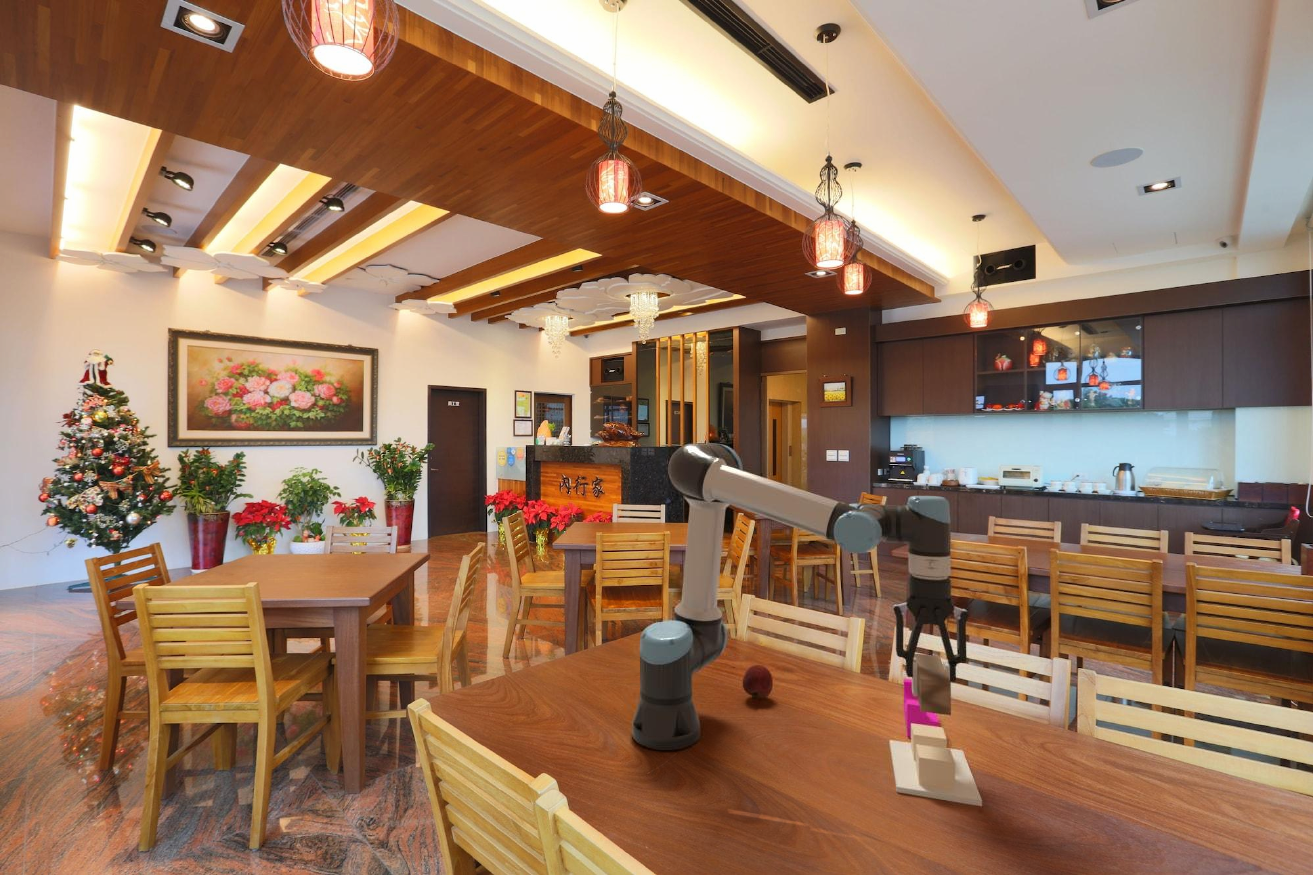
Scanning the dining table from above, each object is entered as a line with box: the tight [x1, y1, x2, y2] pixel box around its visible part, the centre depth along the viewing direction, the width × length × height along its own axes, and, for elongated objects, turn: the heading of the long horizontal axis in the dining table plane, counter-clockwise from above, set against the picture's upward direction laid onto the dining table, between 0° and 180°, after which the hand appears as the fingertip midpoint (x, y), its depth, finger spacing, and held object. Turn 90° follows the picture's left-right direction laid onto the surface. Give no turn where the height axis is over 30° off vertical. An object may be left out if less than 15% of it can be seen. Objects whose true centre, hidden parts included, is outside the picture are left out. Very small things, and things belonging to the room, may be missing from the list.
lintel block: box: [914, 653, 952, 716], centre depth 115 cm, size 5×14×6 cm, turn 162°
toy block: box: [903, 678, 940, 739], centre depth 135 cm, size 15×6×8 cm, turn 160°
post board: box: [889, 723, 983, 807], centre depth 115 cm, size 14×18×6 cm
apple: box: [742, 664, 774, 699], centre depth 149 cm, size 7×8×8 cm
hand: (930, 695), depth 115 cm, fingers closed on lintel block, 5 cm apart
